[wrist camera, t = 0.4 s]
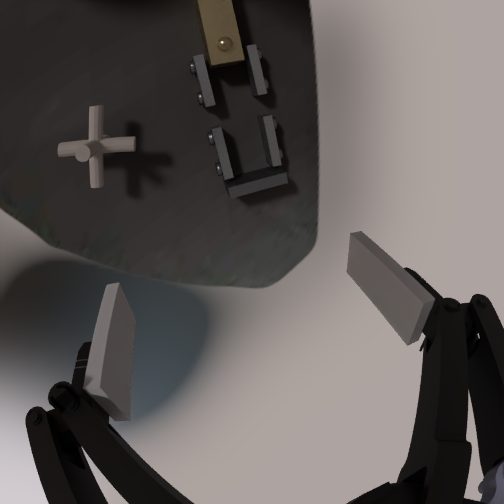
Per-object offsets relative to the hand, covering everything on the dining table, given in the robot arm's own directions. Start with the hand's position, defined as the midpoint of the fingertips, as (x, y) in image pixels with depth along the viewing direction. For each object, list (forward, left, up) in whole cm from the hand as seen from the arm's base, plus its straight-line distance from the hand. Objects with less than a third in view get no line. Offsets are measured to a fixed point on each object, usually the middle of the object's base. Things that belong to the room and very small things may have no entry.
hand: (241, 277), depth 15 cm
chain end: (-12, +6, -27) cm, 30 cm away
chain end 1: (-1, +6, -27) cm, 28 cm away
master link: (-21, +6, -27) cm, 35 cm away
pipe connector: (-8, -12, -27) cm, 31 cm away
